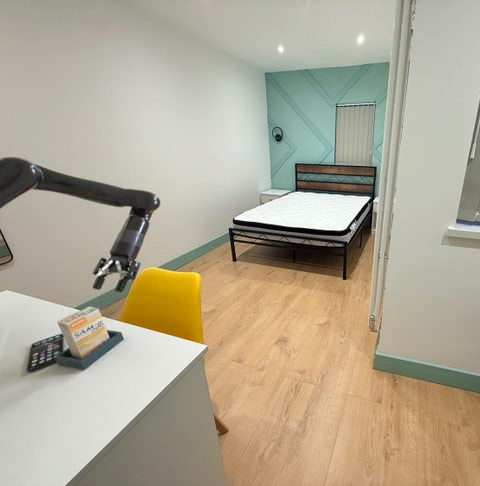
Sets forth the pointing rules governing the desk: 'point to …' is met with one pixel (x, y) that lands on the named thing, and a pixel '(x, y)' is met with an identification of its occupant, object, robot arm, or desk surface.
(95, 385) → the desk surface
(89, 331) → the supplement box
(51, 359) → the smartphone
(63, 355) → the pad dock
